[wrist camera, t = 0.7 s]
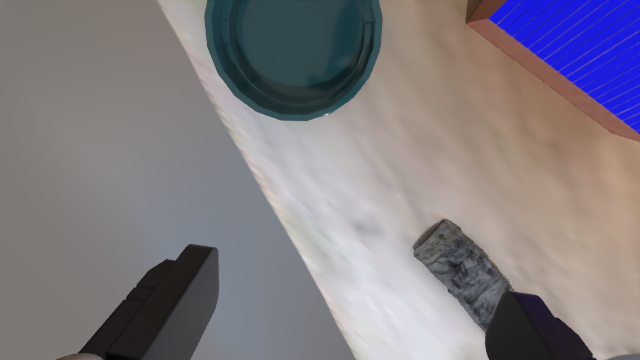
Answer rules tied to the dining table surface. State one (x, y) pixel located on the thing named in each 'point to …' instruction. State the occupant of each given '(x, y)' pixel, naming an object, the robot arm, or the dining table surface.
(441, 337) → the dining table surface
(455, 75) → the dining table surface
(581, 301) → the dining table surface
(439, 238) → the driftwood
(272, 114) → the bowl
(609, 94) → the house
